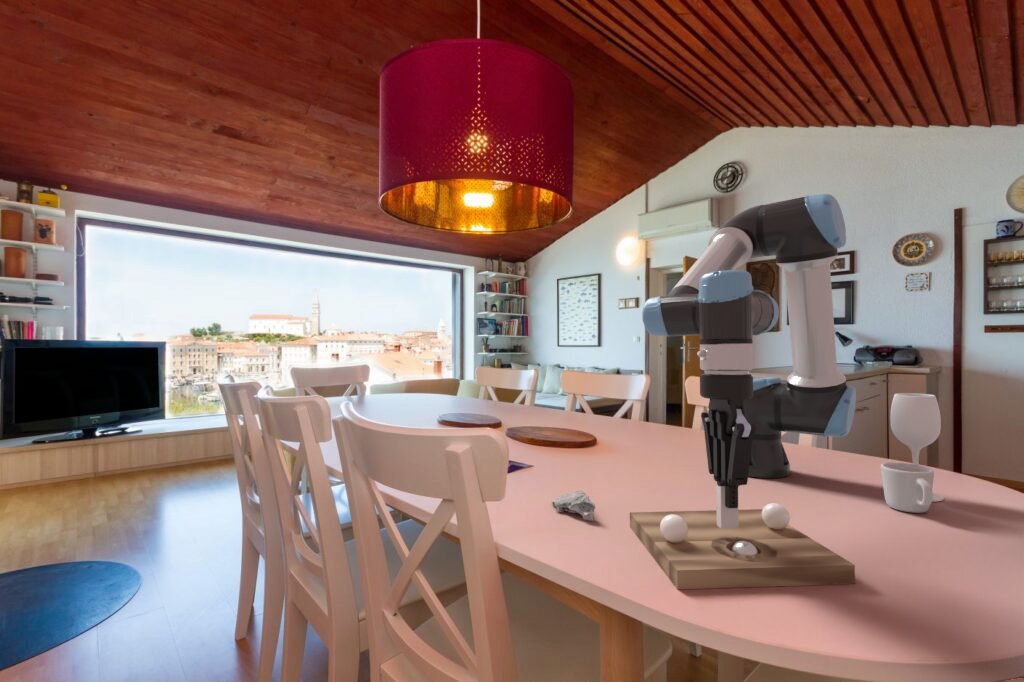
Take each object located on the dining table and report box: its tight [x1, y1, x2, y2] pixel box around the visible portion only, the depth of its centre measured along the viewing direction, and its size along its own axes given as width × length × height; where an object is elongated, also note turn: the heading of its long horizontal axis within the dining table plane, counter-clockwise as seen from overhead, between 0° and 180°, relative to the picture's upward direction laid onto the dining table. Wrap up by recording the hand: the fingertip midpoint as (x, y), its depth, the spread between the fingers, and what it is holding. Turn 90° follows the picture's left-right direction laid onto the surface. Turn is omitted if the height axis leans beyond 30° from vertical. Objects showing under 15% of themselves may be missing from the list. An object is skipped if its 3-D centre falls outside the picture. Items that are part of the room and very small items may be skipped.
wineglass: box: [889, 392, 945, 503], centre depth 102 cm, size 9×9×21 cm
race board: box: [629, 508, 856, 590], centre depth 75 cm, size 22×24×2 cm
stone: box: [551, 490, 596, 522], centre depth 94 cm, size 6×12×4 cm, turn 7°
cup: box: [880, 462, 935, 514], centre depth 92 cm, size 11×8×8 cm
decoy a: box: [762, 502, 791, 530], centre depth 78 cm, size 4×4×4 cm
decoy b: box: [660, 514, 688, 543], centre depth 73 cm, size 4×4×4 cm
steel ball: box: [732, 541, 758, 555], centre depth 70 cm, size 4×4×4 cm
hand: (727, 526), depth 75 cm, fingers closed
